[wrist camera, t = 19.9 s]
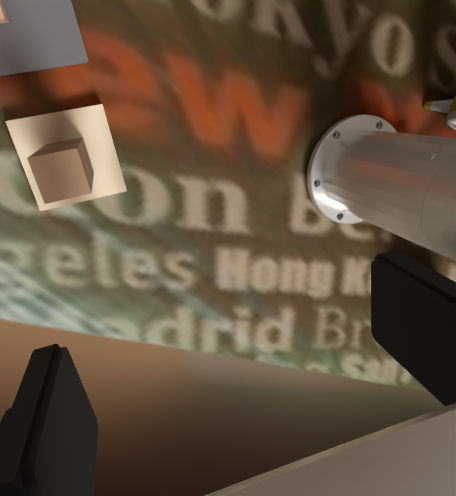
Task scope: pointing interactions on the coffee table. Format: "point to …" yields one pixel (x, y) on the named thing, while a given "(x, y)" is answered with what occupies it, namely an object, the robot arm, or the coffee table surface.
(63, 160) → the square post stand
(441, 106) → the alarm clock
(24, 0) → the mat
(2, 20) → the tile
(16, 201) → the coffee table surface
